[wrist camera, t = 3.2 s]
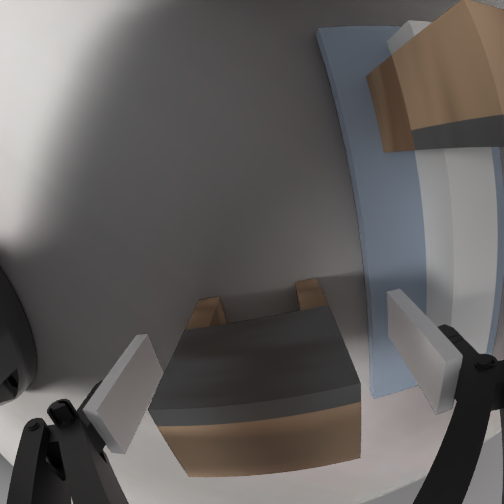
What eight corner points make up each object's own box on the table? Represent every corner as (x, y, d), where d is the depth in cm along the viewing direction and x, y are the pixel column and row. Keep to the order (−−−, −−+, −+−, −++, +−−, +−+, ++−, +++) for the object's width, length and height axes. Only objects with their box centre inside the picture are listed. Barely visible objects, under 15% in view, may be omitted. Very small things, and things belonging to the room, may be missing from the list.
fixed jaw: (465, 76, 12) (576, 41, 3) (480, 143, 13) (601, 146, 4) (365, 76, 13) (463, -2, 4) (383, 152, 14) (507, 146, 5)
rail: (369, 389, 19) (386, 429, 15) (315, 35, 13) (329, 1, 9) (485, 349, 18) (512, 377, 14) (461, 38, 12) (496, 19, 8)
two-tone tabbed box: (217, 357, 18) (188, 476, 10) (199, 299, 17) (147, 409, 9) (325, 339, 18) (360, 457, 9) (316, 277, 17) (360, 382, 8)
